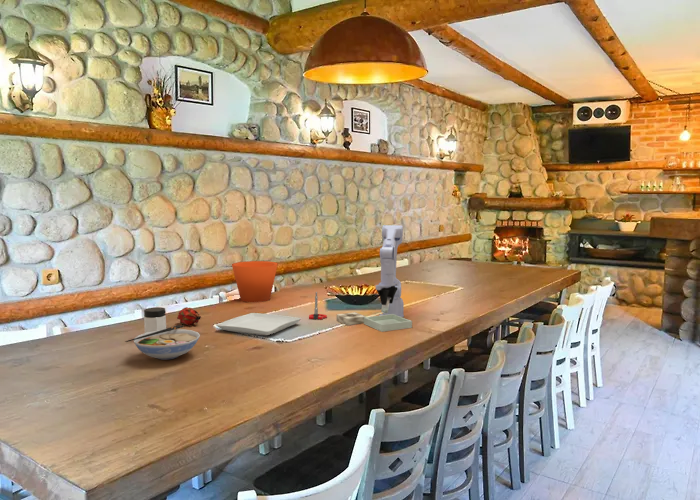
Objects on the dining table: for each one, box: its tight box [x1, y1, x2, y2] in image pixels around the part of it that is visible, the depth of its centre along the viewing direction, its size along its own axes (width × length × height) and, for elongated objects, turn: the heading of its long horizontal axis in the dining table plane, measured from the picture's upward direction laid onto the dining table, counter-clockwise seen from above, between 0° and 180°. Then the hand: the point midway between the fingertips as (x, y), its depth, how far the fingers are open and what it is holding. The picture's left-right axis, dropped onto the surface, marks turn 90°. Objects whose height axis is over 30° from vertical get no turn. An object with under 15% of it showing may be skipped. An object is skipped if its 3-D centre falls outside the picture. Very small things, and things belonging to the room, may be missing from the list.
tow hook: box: [308, 291, 328, 321], centre depth 259 cm, size 8×13×9 cm
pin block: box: [336, 311, 367, 326], centre depth 250 cm, size 10×10×3 cm
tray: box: [363, 314, 413, 333], centre depth 243 cm, size 16×16×3 cm
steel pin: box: [381, 296, 391, 314], centre depth 242 cm, size 4×4×7 cm
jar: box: [143, 306, 167, 333], centre depth 220 cm, size 9×8×12 cm
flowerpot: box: [231, 260, 279, 303], centre depth 300 cm, size 25×25×20 cm
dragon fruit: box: [176, 306, 202, 327], centre depth 243 cm, size 8×8×12 cm
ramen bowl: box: [124, 324, 201, 361], centre depth 196 cm, size 25×23×8 cm
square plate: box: [215, 312, 302, 336], centre depth 238 cm, size 27×27×4 cm
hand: (387, 303), depth 242 cm, fingers closed on steel pin, 4 cm apart
